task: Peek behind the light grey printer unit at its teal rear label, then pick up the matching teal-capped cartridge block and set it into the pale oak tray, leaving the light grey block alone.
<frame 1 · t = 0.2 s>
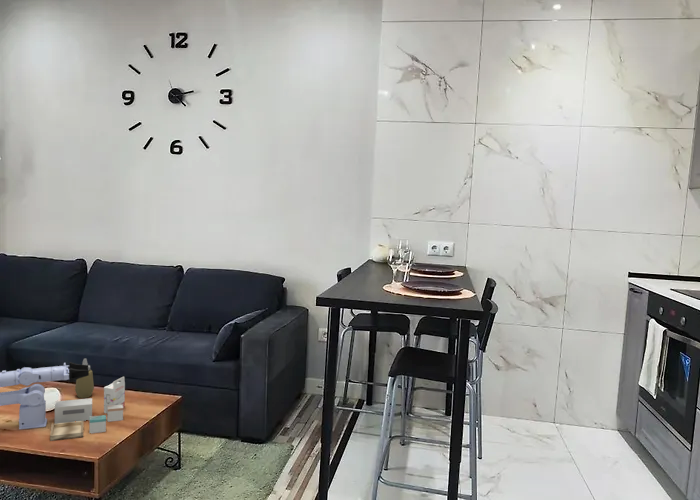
hand: (88, 370, 236), 21 cm above the table, tool horizontal, fingers open, 7 cm apart
ink cartridge box: (114, 410, 249), on the table
printer unit: (73, 418, 237), on the table
squeeze bottle: (84, 396, 263), on the table
teal cartridge: (97, 430, 228), on the table
oak tray: (67, 432, 224), on the table
light grey block: (115, 419, 240), on the table
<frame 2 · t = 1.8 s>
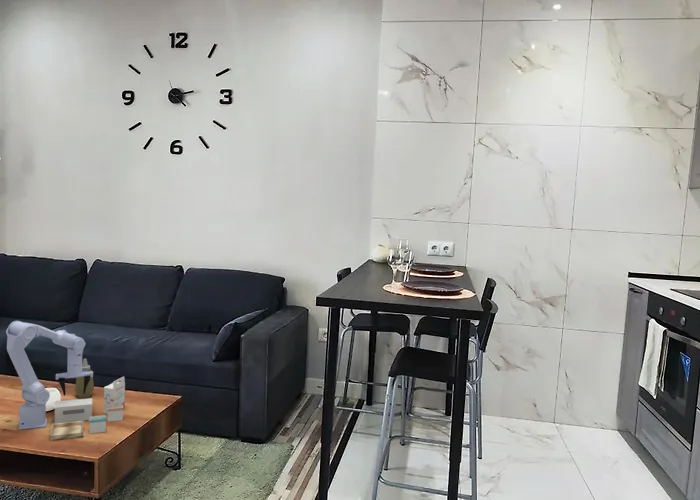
hand: (74, 393, 244), 8 cm above the table, tool pointing down, fingers open, 7 cm apart
nothing on the table moved.
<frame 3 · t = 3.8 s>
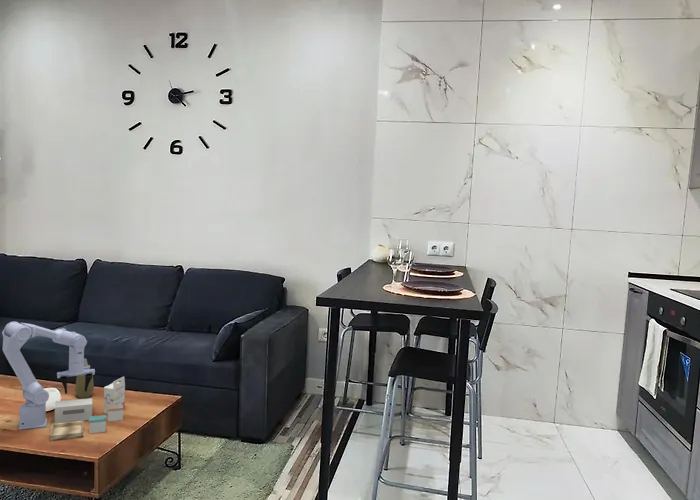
hand: (75, 391, 242), 9 cm above the table, tool pointing down, fingers open, 7 cm apart
nothing on the table moved.
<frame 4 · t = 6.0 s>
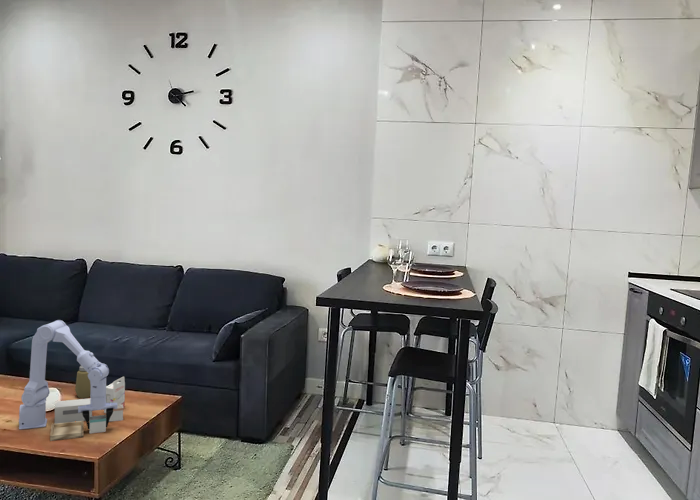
hand: (97, 427, 228), 1 cm above the table, tool pointing down, fingers closed on teal cartridge, 6 cm apart
teal cartridge: (97, 430, 228), on the table, touching gripper
everything else where it was.
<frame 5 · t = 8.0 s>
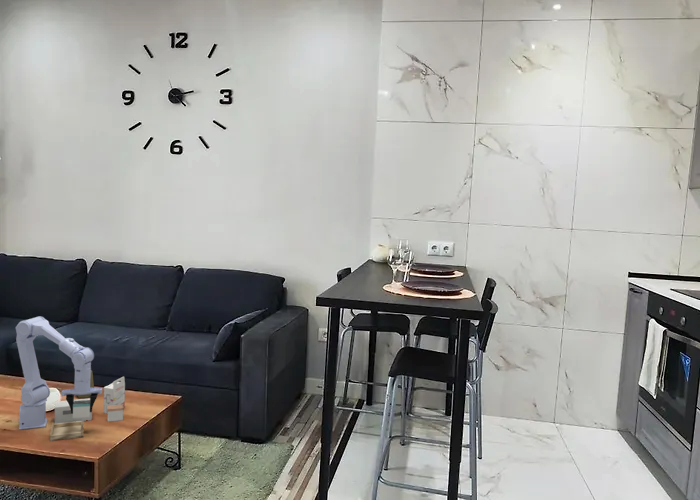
hand: (81, 411, 225), 8 cm above the table, tool pointing down, fingers closed on teal cartridge, 6 cm apart
teal cartridge: (81, 415, 225), point 7 cm above the table, touching gripper
everything else where it was.
when the fingers open (3 cm above the table, at t = 9.9 s): teal cartridge drops 1 cm, resting on oak tray.
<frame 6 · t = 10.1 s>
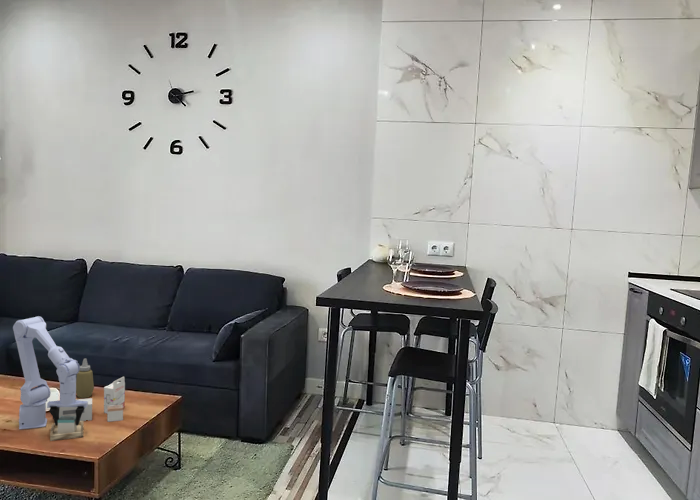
hand: (67, 424, 224), 4 cm above the table, tool pointing down, fingers open, 7 cm apart
teal cartridge: (67, 431, 224), point 1 cm above the table, touching oak tray
everything else where it was.
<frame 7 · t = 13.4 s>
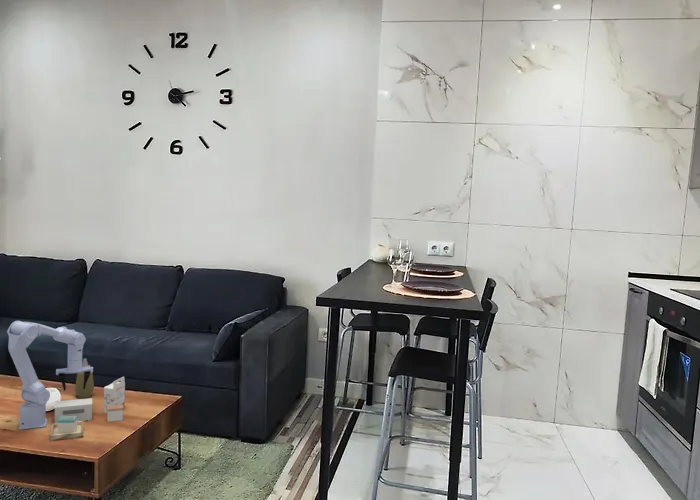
hand: (74, 389, 245), 9 cm above the table, tool pointing down, fingers open, 7 cm apart
nothing on the table moved.
at the end: teal cartridge 0.0 cm off-centre on the oak tray, point 0.6 cm above the oak tray's base; teal cartridge tilted 0°; light grey block moved 0.1 cm from its start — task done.
